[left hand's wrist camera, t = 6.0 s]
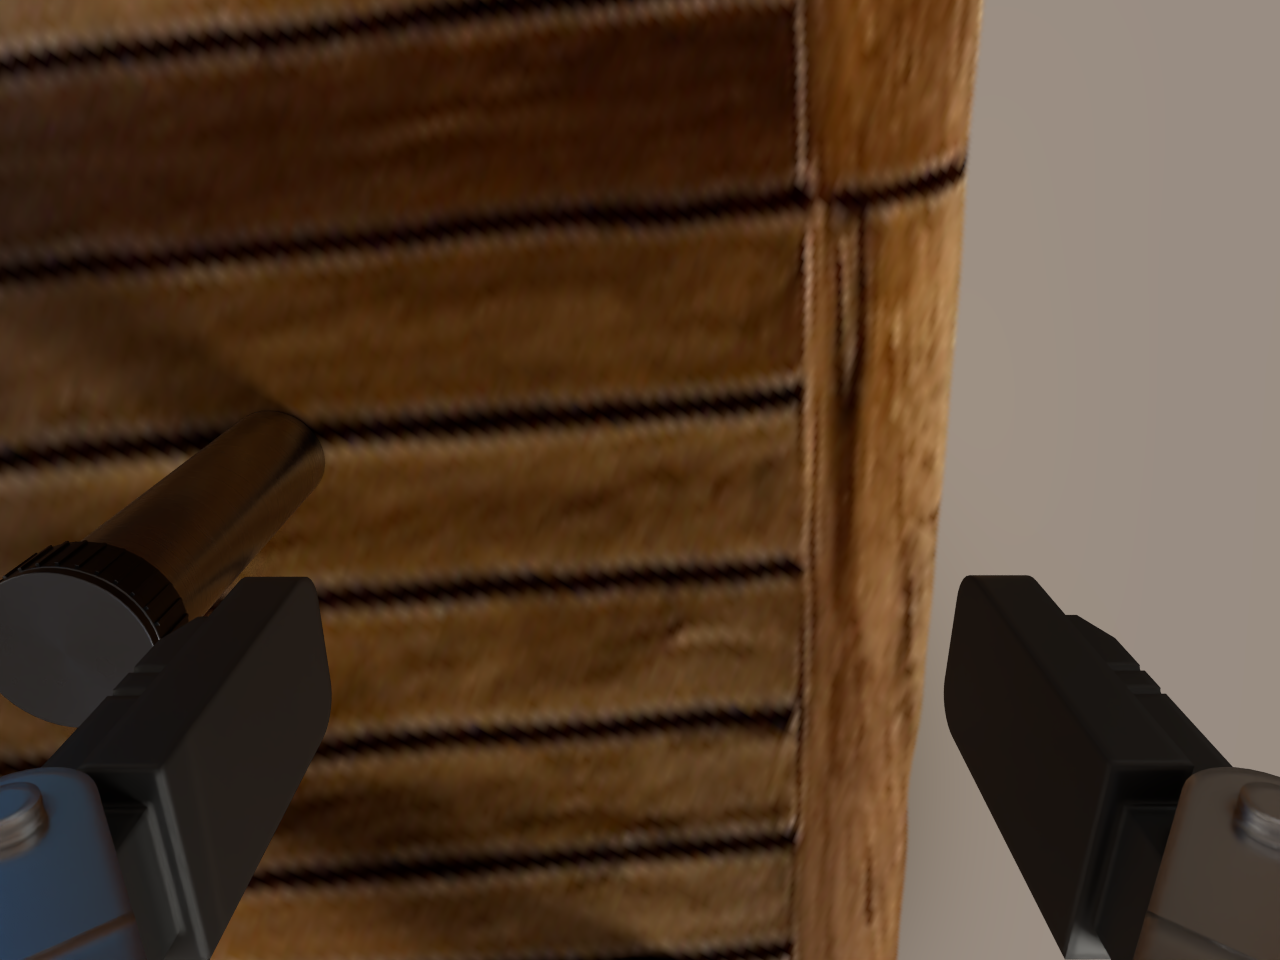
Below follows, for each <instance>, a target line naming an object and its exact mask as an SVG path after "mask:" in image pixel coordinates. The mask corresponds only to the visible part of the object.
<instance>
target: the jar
mask: <svg viewBox="0 0 1280 960" xmlns="http://www.w3.org/2000/svg"><path fill="white" fill-rule="evenodd" d="M324 465H325V463H324V453H323V450H322V447H321V445H320V442H319V440H318V439H317V437H316V436H315V434H314V433H313V432H312V431H311V430H310V429H309V428H308V426H306V425H305V424H304V423H303V422H301V421H300V420H298V419H297V418H295V417H293V416H291V415H288V414H285V413H281V412H276V411H261V412H256V413H252V414H250V415H248V416H246V417H244V418H243V419H241V420H240V421H239V422H237V423H236V424H235V425H233V426H232V427H231V428H229V429H228V430H227V431H225V432H224V433H223V434H221V435H220V436H219V437H217V438H216V439H215V440H214V441H212V442H211V443H210V444H208V445H207V446H206V447H204V448H203V449H202V450H200V451H199V452H198V453H196V454H195V455H194V456H192V457H191V458H190V459H188V460H187V461H186V462H184V463H183V464H182V465H180V466H179V467H178V468H177V469H175V470H174V471H173V472H171V473H170V474H169V475H167V476H166V477H165V478H163V479H162V480H161V481H159V482H158V483H157V484H155V485H154V486H153V487H151V488H150V489H149V490H147V491H146V492H145V493H143V494H142V495H141V496H140V497H138V498H137V499H136V500H134V501H133V502H132V503H130V504H129V505H128V506H126V507H125V508H124V509H122V510H121V511H120V512H118V513H117V514H116V515H114V516H113V517H112V518H110V519H109V520H108V521H106V522H105V523H104V524H103V525H101V526H100V527H99V528H97V529H96V530H95V531H93V532H92V533H91V534H89V535H88V536H87V537H85V538H84V539H83V540H81V541H80V542H82V541H84V540H88V541H89V542H99V543H103V542H104V543H107V544H109V545H113V546H116V547H119V548H124V549H126V550H127V551H129V552H132V553H134V554H136V555H138V556H139V557H142V558H144V560H146V561H147V562H149V563H150V564H152V565H153V566H154V567H156V568H157V569H158V570H160V572H161V573H162V574H163V575H164V576H165V577H166V578H167V579H168V580H169V581H170V582H171V583H172V584H173V586H174V588H175V589H176V591H177V592H178V594H179V596H180V597H181V598H182V601H183V603H184V606H185V609H186V611H187V613H188V615H189V617H188V620H189V622H190V621H191V620H193V619H195V618H196V617H202V616H203V615H204V614H205V613H206V612H207V611H208V610H209V608H210V607H211V606H212V605H213V604H214V603H215V602H216V600H217V599H218V598H219V597H220V596H221V595H222V594H223V592H224V591H225V590H226V589H227V588H228V587H229V586H230V585H231V583H232V582H233V581H234V580H235V579H236V578H237V577H238V575H239V574H240V573H241V572H242V571H243V570H244V569H245V567H246V566H247V565H248V564H249V563H250V562H251V561H252V559H253V558H254V557H255V556H256V555H257V554H258V553H259V551H260V550H261V549H262V548H263V547H264V546H265V545H266V543H267V542H268V541H269V540H270V539H271V538H272V537H273V535H274V534H275V533H276V532H277V531H278V530H279V529H280V528H281V526H282V525H283V524H284V523H285V522H286V521H287V520H288V518H289V517H290V516H291V515H292V514H293V513H294V512H295V510H296V509H297V508H298V507H299V506H300V505H301V504H302V502H303V501H304V500H305V499H306V498H307V497H308V496H309V494H310V493H311V492H312V491H313V490H314V489H315V488H316V486H317V485H318V484H319V482H320V480H321V478H322V476H323V472H324Z"/></svg>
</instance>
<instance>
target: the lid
mask: <svg viewBox="0 0 1280 960" xmlns="http://www.w3.org/2000/svg"><path fill="white" fill-rule="evenodd" d="M188 617H189V615H188V613H187V611H186V609H185V606H184V603H183V601H182V598H181V597H180V596H179V594H178V592H177V591H176V589H175V588H174V586H173V584H172V583H171V582H170V581H169V580H168V579H167V578H166V577H165V576H164V575H163V574H162V573H161V572H160V570H158V569H157V568H156V567H154V566H153V565H152V564H150V563H149V562H147V561H146V560H144V558H142V557H139V556H138V555H136V554H134V553H132V552H129V551H127V550H126V549H124V548H119V547H116V546H113V545H109V544H107V543H104V542H103V543H99V542H89V541H88V540H84V541H82V542H71V543H69V541H65V542H64V543H63V544H61V545H57V546H54V547H52V545H50V546H48V547H47V548H45V549H44V550H42V551H41V552H40V553H38V554H37V553H35V554H34V555H32V556H31V557H29V558H28V559H27V560H25V561H24V562H22V563H21V564H20V565H18V566H17V567H16V568H14V569H13V570H11V571H10V572H9V573H7V574H6V575H4V576H3V579H2V580H0V693H1V694H2V695H3V696H4V697H5V698H7V699H8V700H9V701H11V702H12V703H13V704H14V705H16V706H18V707H19V708H21V709H22V710H24V711H26V712H28V713H29V714H31V715H33V716H35V717H38V718H40V719H43V720H45V721H48V722H51V723H55V724H58V725H63V726H68V727H77V728H78V727H79V726H80V725H81V724H82V723H83V722H84V721H85V720H86V719H87V717H88V716H89V715H90V714H91V713H92V712H93V711H94V710H95V709H96V708H97V707H98V706H99V704H100V703H101V702H102V701H103V700H104V699H105V698H106V697H107V696H112V695H113V689H114V688H115V687H116V686H117V685H118V684H119V683H120V682H121V681H122V680H123V678H124V677H125V676H126V675H127V674H128V673H133V672H134V667H135V665H136V664H137V663H138V662H139V661H140V660H141V659H142V658H143V657H144V656H145V655H146V654H147V652H148V651H149V650H150V649H151V648H152V647H153V646H154V645H155V644H156V643H157V642H158V640H160V639H161V638H163V637H165V636H166V635H168V634H170V633H171V632H173V631H175V630H176V629H178V628H180V627H181V626H183V625H185V624H186V623H188V622H189V620H188Z"/></svg>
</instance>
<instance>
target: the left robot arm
mask: <svg viewBox="0 0 1280 960" xmlns="http://www.w3.org/2000/svg"><path fill="white" fill-rule="evenodd" d="M944 706H945V713H946V719H947V723H948V726H949V729H950V732H951V735H952V737H953V739H954V741H955V743H956V745H957V747H958V749H959V751H960V753H961V755H962V756H963V759H964V761H965V763H966V764H967V766H968V768H969V770H970V772H971V774H972V776H973V778H974V780H975V782H976V784H977V786H978V788H979V790H980V792H981V794H982V796H983V798H984V800H985V802H986V804H987V806H988V808H989V810H990V812H991V814H992V816H993V818H994V820H995V822H996V824H997V826H998V828H999V830H1000V832H1001V834H1002V836H1003V838H1004V840H1005V842H1006V844H1007V846H1008V848H1009V850H1010V852H1011V853H1012V856H1013V858H1014V859H1015V861H1016V863H1017V865H1018V867H1019V869H1020V871H1021V873H1022V875H1023V877H1024V879H1025V881H1026V883H1027V885H1028V887H1029V889H1030V891H1031V893H1032V895H1033V897H1034V899H1035V901H1036V903H1037V905H1038V907H1039V909H1040V911H1041V913H1042V915H1043V917H1044V919H1045V921H1046V923H1047V925H1048V927H1049V929H1050V931H1051V933H1052V935H1053V937H1054V939H1055V941H1056V943H1057V945H1058V947H1059V948H1060V950H1061V952H1062V954H1063V956H1064V958H1065V959H1111V960H1280V777H1278V776H1274V775H1271V774H1268V773H1264V772H1260V771H1255V770H1251V769H1244V768H1236V767H1232V766H1231V765H1230V763H1229V762H1228V761H1227V760H1226V759H1225V758H1224V757H1223V756H1222V755H1221V754H1220V752H1219V751H1218V750H1217V749H1216V748H1215V747H1214V746H1213V745H1212V744H1211V743H1210V742H1209V740H1208V739H1207V738H1206V737H1205V736H1204V735H1203V734H1202V733H1201V732H1200V731H1199V730H1198V728H1197V727H1196V726H1195V725H1194V724H1193V723H1192V722H1191V721H1190V720H1189V719H1188V717H1187V716H1186V715H1185V714H1184V713H1183V712H1182V711H1181V710H1180V709H1179V708H1178V707H1177V705H1176V704H1175V703H1174V702H1173V701H1172V700H1171V699H1170V698H1169V697H1168V696H1167V694H1161V692H1160V687H1159V686H1158V685H1157V684H1156V682H1155V681H1154V680H1153V679H1152V678H1151V677H1150V676H1149V675H1148V674H1147V673H1146V672H1145V671H1140V665H1139V664H1138V663H1137V662H1136V661H1135V659H1134V658H1133V657H1132V656H1131V655H1130V654H1129V653H1128V652H1127V651H1126V650H1125V649H1124V647H1123V646H1122V645H1121V644H1120V643H1119V642H1118V641H1117V640H1116V639H1115V638H1114V637H1112V636H1111V635H1109V634H1107V633H1106V632H1104V631H1102V630H1101V629H1099V628H1097V627H1096V626H1094V625H1092V624H1091V623H1089V622H1087V621H1086V620H1084V619H1082V618H1081V617H1079V616H1077V615H1065V614H1064V613H1063V612H1062V610H1061V609H1060V608H1059V607H1058V606H1057V605H1056V603H1055V602H1054V601H1053V600H1052V599H1051V598H1050V596H1049V595H1048V594H1047V593H1046V592H1045V591H1044V589H1043V588H1042V587H1041V586H1040V585H1039V584H1038V582H1037V581H1036V580H1035V579H1034V578H1033V577H1031V576H1027V575H969V576H966V577H965V578H964V579H963V581H962V582H961V585H960V588H959V591H958V596H957V602H956V609H955V615H954V622H953V629H952V635H951V642H950V648H949V655H948V662H947V668H946V675H945V682H944ZM330 710H331V681H330V674H329V668H328V661H327V655H326V648H325V642H324V635H323V629H322V622H321V616H320V609H319V602H318V596H317V592H316V588H315V586H314V584H313V582H312V581H311V579H309V578H308V577H245V578H243V579H241V580H240V581H239V582H238V583H237V584H236V586H235V587H234V588H233V589H232V590H231V591H230V593H229V594H228V595H227V596H226V597H225V598H224V599H223V601H222V602H221V603H220V604H219V605H218V606H217V608H216V609H215V610H214V611H213V612H212V613H211V615H210V616H209V617H196V618H195V619H193V620H191V621H190V622H188V623H186V624H185V625H183V626H181V627H180V628H178V629H176V630H175V631H173V632H171V633H170V634H168V635H166V636H165V637H163V638H161V639H160V640H158V642H157V643H156V644H155V645H154V646H153V647H152V648H151V649H150V650H149V651H148V652H147V654H146V655H145V656H144V657H143V658H142V659H141V660H140V661H139V662H138V663H137V664H136V665H135V667H134V672H133V673H128V674H127V675H126V676H125V677H124V678H123V680H122V681H121V682H120V683H119V684H118V685H117V686H116V687H115V688H114V689H113V695H112V696H107V697H106V698H105V699H104V700H103V701H102V702H101V703H100V704H99V706H98V707H97V708H96V709H95V710H94V711H93V712H92V713H91V714H90V715H89V716H88V717H87V719H86V720H85V721H84V722H83V723H82V724H81V725H80V726H79V727H78V728H77V729H76V731H75V732H74V733H73V734H72V735H71V736H70V737H69V738H68V739H67V740H66V741H65V742H64V744H63V745H62V746H61V747H60V748H59V749H58V750H57V751H56V752H55V753H54V754H53V755H52V757H51V758H50V759H49V760H48V761H47V762H46V763H45V764H44V765H43V766H42V767H41V768H36V769H29V770H25V771H20V772H15V773H12V774H9V775H6V776H2V777H0V960H210V958H211V956H212V954H213V952H214V950H215V948H216V946H217V944H218V942H219V940H220V938H221V937H222V935H223V933H224V931H225V929H226V927H227V925H228V923H229V921H230V919H231V917H232V915H233V913H234V911H235V909H236V907H237V905H238V903H239V901H240V899H241V897H242V895H243V894H244V892H245V890H246V888H247V886H248V884H249V882H250V880H251V878H252V876H253V874H254V872H255V870H256V868H257V866H258V864H259V862H260V860H261V858H262V856H263V854H264V852H265V850H266V849H267V847H268V845H269V843H270V841H271V839H272V837H273V835H274V833H275V831H276V829H277V827H278V825H279V823H280V821H281V819H282V817H283V815H284V813H285V811H286V809H287V807H288V806H289V804H290V802H291V800H292V798H293V796H294V794H295V792H296V790H297V788H298V786H299V784H300V782H301V780H302V778H303V776H304V774H305V772H306V770H307V768H308V766H309V764H310V763H311V761H312V759H313V757H314V755H315V753H316V751H317V749H318V747H319V745H320V743H321V741H322V739H323V737H324V735H325V732H326V729H327V726H328V722H329V717H330Z"/></svg>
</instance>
